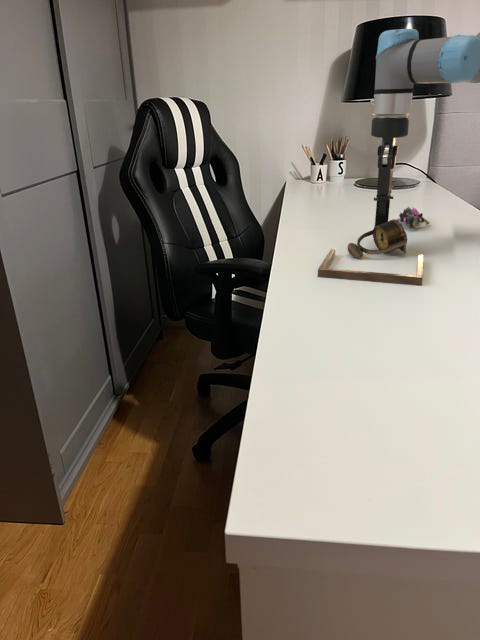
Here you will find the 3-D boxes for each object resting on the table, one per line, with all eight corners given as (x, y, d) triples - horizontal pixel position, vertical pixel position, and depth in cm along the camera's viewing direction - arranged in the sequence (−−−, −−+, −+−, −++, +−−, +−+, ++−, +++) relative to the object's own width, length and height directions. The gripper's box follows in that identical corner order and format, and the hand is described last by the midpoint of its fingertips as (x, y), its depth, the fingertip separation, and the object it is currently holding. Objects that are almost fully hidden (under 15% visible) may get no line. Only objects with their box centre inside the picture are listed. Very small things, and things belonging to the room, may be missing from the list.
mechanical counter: (417, 235, 101) (407, 214, 109) (354, 230, 101) (349, 209, 109) (408, 266, 106) (399, 243, 114) (348, 261, 106) (343, 239, 114)
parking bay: (422, 261, 103) (423, 254, 102) (421, 285, 91) (422, 277, 90) (330, 255, 109) (330, 248, 108) (317, 276, 96) (317, 269, 96)
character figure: (391, 218, 140) (393, 230, 126) (392, 204, 139) (394, 214, 124) (426, 219, 138) (432, 231, 124) (428, 205, 137) (434, 216, 122)
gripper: (375, 115, 110) (367, 221, 119) (368, 118, 98) (360, 235, 108) (411, 114, 107) (400, 223, 117) (408, 117, 96) (396, 237, 106)
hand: (380, 229), depth 113 cm, fingers closed
